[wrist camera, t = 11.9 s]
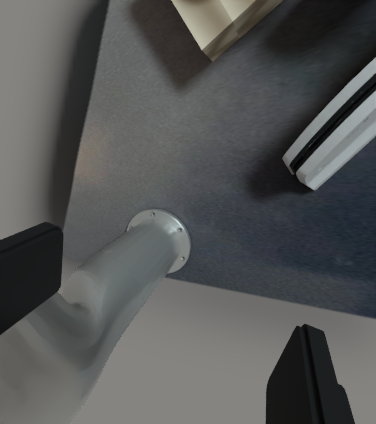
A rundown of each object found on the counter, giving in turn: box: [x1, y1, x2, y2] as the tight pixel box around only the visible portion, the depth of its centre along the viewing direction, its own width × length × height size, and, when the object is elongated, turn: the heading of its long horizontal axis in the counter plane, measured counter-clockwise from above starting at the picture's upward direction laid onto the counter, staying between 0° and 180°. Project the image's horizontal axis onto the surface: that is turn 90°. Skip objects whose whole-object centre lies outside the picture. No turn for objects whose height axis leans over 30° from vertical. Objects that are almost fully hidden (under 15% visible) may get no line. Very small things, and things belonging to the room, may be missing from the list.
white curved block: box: [282, 58, 376, 190], centre depth 29 cm, size 17×5×10 cm, turn 141°
